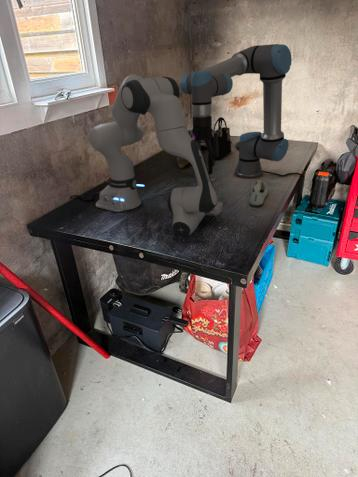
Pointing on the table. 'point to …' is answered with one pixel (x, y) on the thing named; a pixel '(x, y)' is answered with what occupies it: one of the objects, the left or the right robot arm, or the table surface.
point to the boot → (182, 162)
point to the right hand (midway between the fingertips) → (203, 172)
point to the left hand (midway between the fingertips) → (203, 198)
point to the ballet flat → (258, 193)
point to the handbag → (222, 139)
